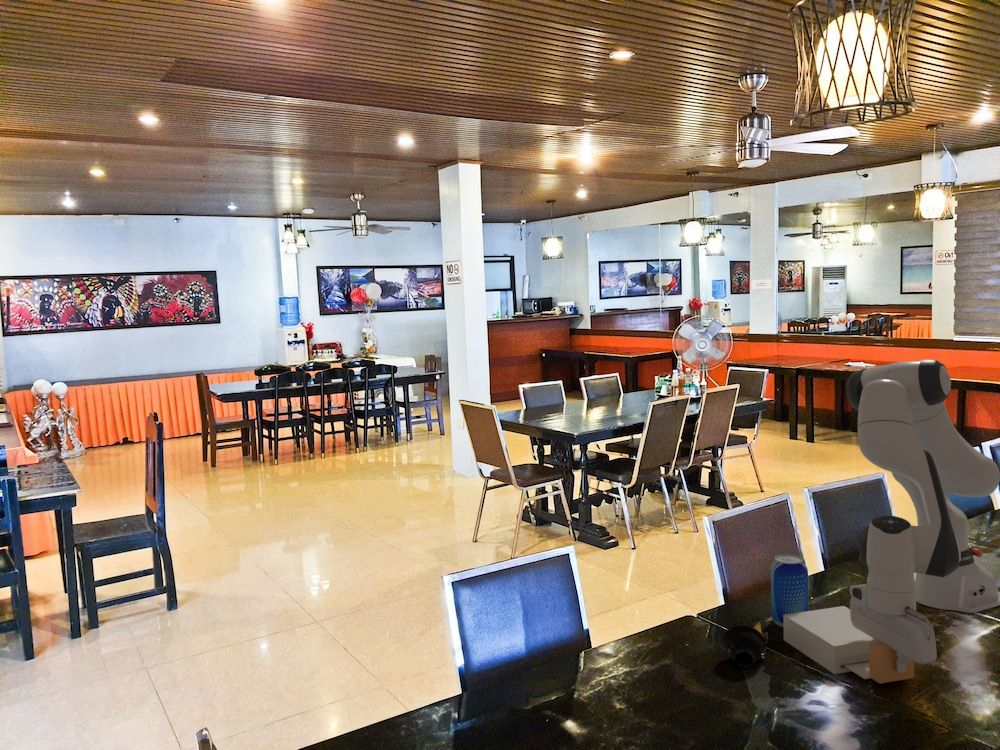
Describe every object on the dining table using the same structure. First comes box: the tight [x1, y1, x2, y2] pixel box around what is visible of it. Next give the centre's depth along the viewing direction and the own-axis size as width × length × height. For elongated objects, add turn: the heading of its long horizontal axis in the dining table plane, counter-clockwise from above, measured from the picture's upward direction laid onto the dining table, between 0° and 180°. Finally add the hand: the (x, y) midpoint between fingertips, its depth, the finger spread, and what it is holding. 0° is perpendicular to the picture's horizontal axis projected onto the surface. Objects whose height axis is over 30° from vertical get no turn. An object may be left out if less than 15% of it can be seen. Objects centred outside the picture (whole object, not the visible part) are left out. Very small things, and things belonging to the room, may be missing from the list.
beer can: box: [770, 554, 810, 629], centre depth 188 cm, size 8×8×16 cm
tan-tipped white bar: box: [843, 642, 915, 685], centre depth 166 cm, size 11×22×7 cm, turn 13°
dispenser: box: [783, 605, 873, 675], centre depth 171 cm, size 16×19×6 cm
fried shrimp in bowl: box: [722, 621, 769, 668], centre depth 173 cm, size 9×11×18 cm
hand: (891, 666), depth 156 cm, fingers closed on tan-tipped white bar, 3 cm apart
